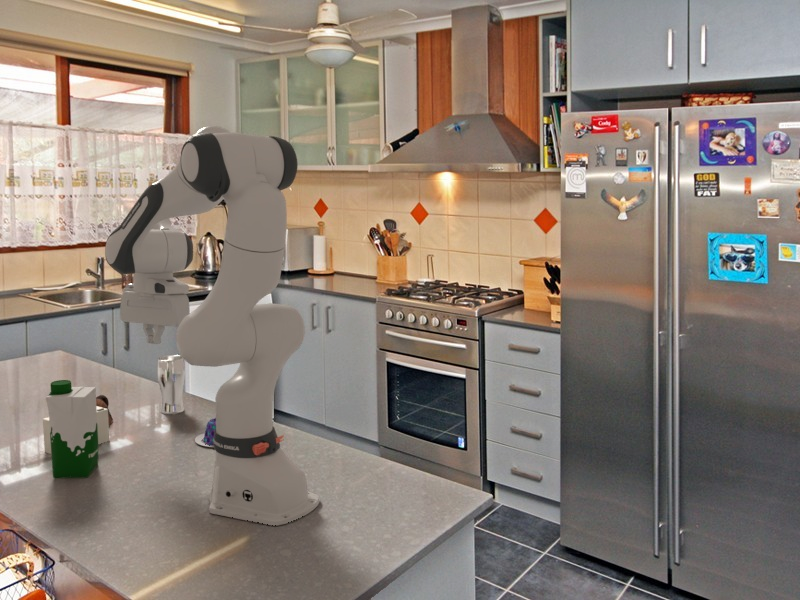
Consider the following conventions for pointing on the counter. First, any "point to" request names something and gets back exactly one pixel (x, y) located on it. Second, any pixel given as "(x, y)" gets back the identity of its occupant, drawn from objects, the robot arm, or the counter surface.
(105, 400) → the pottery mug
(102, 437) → the block
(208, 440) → the pudding
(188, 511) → the counter surface
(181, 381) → the beer glass
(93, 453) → the soya milk
